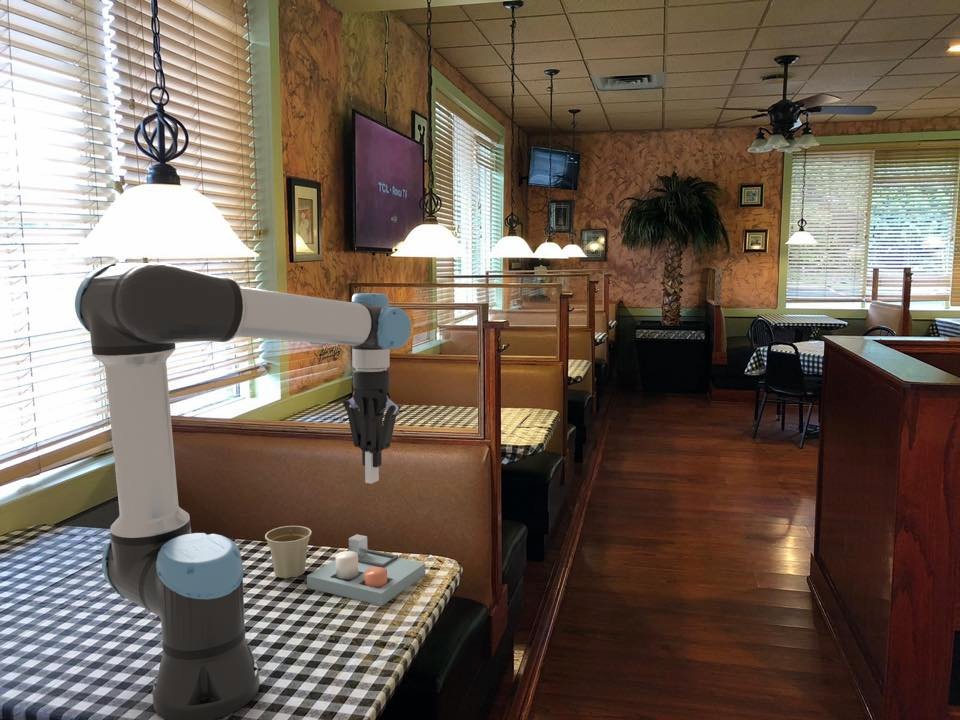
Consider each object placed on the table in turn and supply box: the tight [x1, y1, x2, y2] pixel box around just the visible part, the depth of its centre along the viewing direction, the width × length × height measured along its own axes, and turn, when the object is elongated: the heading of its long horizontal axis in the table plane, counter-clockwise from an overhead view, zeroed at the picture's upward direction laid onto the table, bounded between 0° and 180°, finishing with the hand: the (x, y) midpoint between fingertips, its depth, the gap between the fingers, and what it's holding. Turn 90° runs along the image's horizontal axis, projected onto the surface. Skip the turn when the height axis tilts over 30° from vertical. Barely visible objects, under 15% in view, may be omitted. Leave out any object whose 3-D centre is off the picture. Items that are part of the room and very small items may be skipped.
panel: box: [306, 548, 426, 607], centre depth 152 cm, size 16×18×3 cm
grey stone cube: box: [348, 533, 368, 559], centre depth 159 cm, size 3×3×4 cm
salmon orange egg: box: [365, 567, 387, 589], centre depth 146 cm, size 4×4×4 cm
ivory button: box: [335, 550, 358, 579], centre depth 149 cm, size 4×4×4 cm
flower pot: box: [264, 525, 312, 579], centre depth 156 cm, size 9×9×9 cm
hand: (372, 481), depth 155 cm, fingers closed
